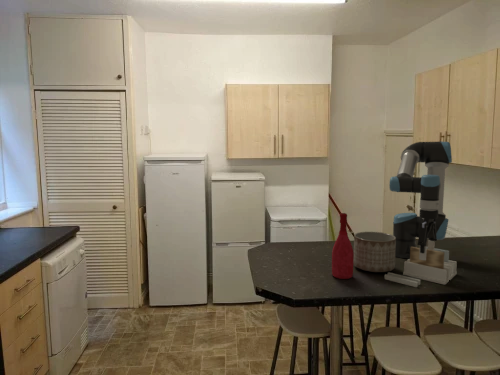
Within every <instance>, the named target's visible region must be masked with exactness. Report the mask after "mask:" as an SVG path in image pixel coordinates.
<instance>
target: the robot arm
mask: <svg viewBox="0 0 500 375" xmlns="http://www.w3.org/2000/svg"><path fill="white" fill-rule="evenodd" d="M418 163H424V166H425V167H426V169H427V173H426V174H423V175H421V177H418V176H416V177H415V176H414V174H415V170H416V165H417V164H418ZM451 163H453V158H452V146H451V143H450V142H449V141H443V140H442V141H440V140H439V141H417V142H414V143H411V144H410V145H408V146H406V147H405V148H404V150H402V152H401V155H400V165H399V167H398V171H397V173H396V175H395V176H391V177H390V178H389V183H388V184H389V191H390V192H396V193H409V194H410V193H413V194H414V193H415V194H420V199H419V216H418V214H417V213H416V212H401V213H397V214H395V215H394V216H393V223H392V225H393V226H392V235H393V236H395V237H396V248H395V258H401V259H410V248H411V247H417V248H418V246H419V248H420V250H419V259H420V260H425V261H426V251H427V247H428V249H429V250H434V248H435V244H436V243H435V242H437V241H443V240H445V238H446V235H447V231H448V230H447V229H448V225H449V219H448V217H447V215H446V214H445V212H443V209H444V194H445V180H446V179H445V178H446V177H445V176H446V169H447V168H448V167H450V166H449V165H450V164H451ZM446 217H447V218H446ZM417 238H418V240H417V241H418V242H417V243H416V239H417Z"/></svg>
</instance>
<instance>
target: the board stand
mask: <svg viewBox="0 0 500 375" xmlns="http://www.w3.org/2000/svg"><path fill="white" fill-rule="evenodd" d="M384 280H387V281H390V282H395V283H399V284H401V285H402V284H403V285H405V286H410V287H414V288H418V286H421V279H419V278H415V277H410V276H406V275H403V274H397V273H393V272H391V271H388V272H387V274H386V273H385V274H384Z"/></svg>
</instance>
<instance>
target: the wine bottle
mask: <svg viewBox="0 0 500 375" xmlns="http://www.w3.org/2000/svg"><path fill="white" fill-rule="evenodd" d="M347 223H348V214H347V213H345V212H342V213H341V212H340V213H339V224H340V228H339V232H338V234H337V235H338V236H337V238H336V240H335V241H334V245H333V247H332V250H331V275H332V276H333V277H334V278H336V279H340V280H348V279H351V278H353V275H354V247H353V245H352V243H351V240H350V237H349V235H348V234H349V233H348V231H347Z"/></svg>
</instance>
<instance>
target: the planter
mask: <svg viewBox="0 0 500 375" xmlns="http://www.w3.org/2000/svg"><path fill="white" fill-rule="evenodd" d="M395 248H396V237H395V236H393V234H390V233H386V232H381V231H380V232H379V231H360V232H359V231H358V232H356V233H354V236H353V252H354V264H353V266H354V267H356V268H358V269H359V270H363V271H366V272H372V273H386V272H387V273H389V272H391V271H393V270H395V268H396V266H395V265H396V257H395Z"/></svg>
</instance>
